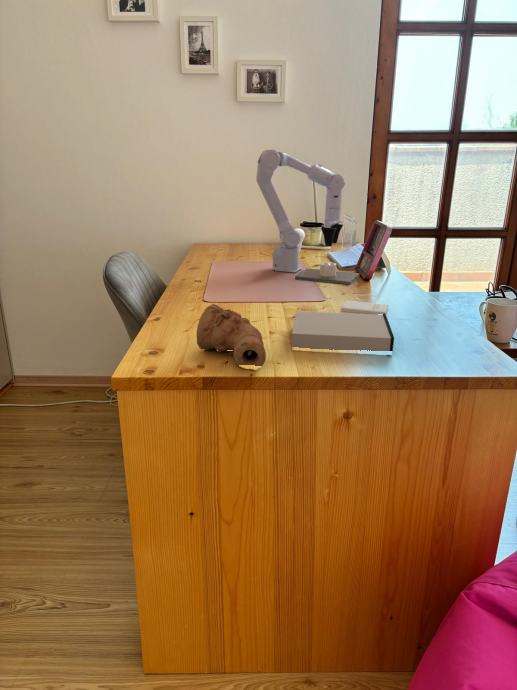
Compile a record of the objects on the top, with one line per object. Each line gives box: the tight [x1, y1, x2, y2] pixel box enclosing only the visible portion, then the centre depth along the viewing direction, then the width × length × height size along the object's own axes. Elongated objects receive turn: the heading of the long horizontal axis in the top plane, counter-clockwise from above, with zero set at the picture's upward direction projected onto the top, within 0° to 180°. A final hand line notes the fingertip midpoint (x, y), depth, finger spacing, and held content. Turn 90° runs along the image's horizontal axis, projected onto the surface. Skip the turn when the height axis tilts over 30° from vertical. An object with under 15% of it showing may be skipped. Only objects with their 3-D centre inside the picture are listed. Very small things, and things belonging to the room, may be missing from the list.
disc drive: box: [291, 310, 395, 351], centre depth 121 cm, size 18×22×5 cm
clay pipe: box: [195, 303, 267, 367], centre depth 111 cm, size 19×11×15 cm
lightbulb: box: [294, 228, 306, 253], centre depth 224 cm, size 6×6×11 cm
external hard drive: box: [341, 300, 390, 315], centre depth 146 cm, size 2×8×12 cm
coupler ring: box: [319, 261, 337, 277], centre depth 182 cm, size 6×6×4 cm
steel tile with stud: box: [294, 263, 360, 285], centre depth 182 cm, size 20×14×5 cm
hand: (331, 244), depth 192 cm, fingers open, 7 cm apart
